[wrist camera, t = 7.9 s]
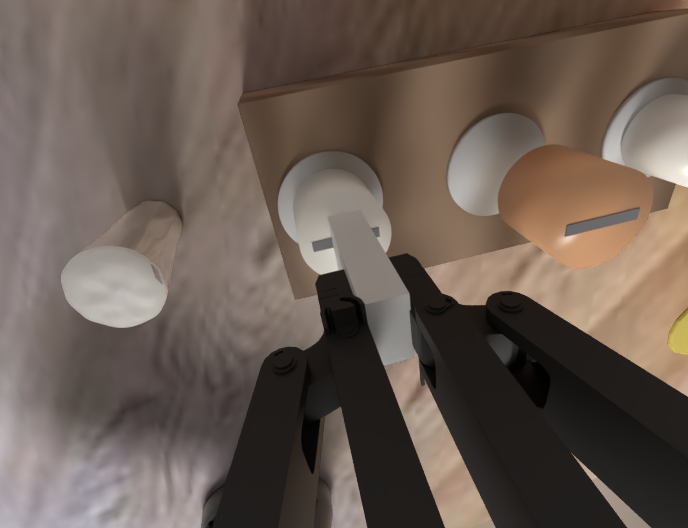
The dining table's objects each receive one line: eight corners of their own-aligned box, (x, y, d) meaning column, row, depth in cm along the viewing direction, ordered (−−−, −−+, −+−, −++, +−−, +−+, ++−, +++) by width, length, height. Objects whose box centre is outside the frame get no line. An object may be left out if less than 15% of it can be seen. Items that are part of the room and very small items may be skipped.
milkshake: (216, 226, 26) (193, 314, 17) (153, 262, 26) (100, 365, 18) (172, 170, 23) (119, 241, 15) (102, 211, 24) (13, 302, 15)
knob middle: (494, 238, 19) (545, 279, 16) (500, 155, 17) (561, 182, 13) (572, 219, 20) (637, 255, 16) (588, 135, 17) (668, 157, 14)
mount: (290, 262, 28) (295, 303, 24) (242, 93, 22) (237, 105, 17) (610, 185, 30) (672, 210, 26) (652, 11, 24) (744, 3, 19)
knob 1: (302, 250, 21) (310, 288, 18) (284, 178, 19) (288, 207, 16) (374, 233, 22) (395, 267, 18) (365, 160, 19) (387, 184, 16)
